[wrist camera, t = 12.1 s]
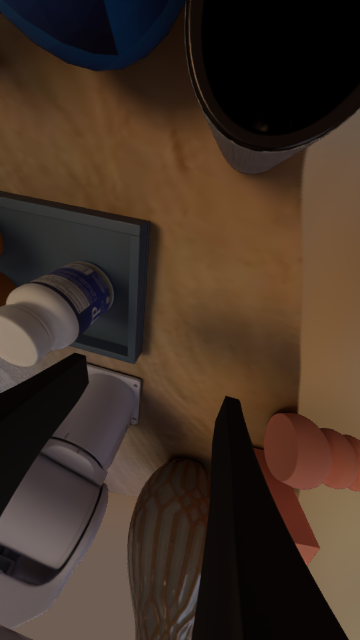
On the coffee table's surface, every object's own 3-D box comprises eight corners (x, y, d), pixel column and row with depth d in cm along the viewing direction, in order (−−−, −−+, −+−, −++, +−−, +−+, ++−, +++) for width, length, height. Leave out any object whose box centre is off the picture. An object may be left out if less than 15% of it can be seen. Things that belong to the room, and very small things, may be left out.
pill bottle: (97, 320, 23) (28, 385, 15) (55, 283, 21) (-42, 334, 14) (126, 291, 20) (60, 352, 12) (81, 247, 19) (-22, 286, 11)
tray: (142, 351, 24) (134, 364, 22) (-17, 308, 27) (-35, 316, 25) (150, 221, 17) (140, 225, 15) (-71, 176, 19) (-102, 175, 17)
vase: (135, 452, 36) (66, 629, 22) (199, 439, 30) (162, 674, 16) (181, 492, 40) (149, 665, 26) (246, 488, 34) (252, 712, 19)
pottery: (223, 494, 30) (288, 508, 31) (239, 596, 21) (331, 613, 22) (272, 388, 25) (350, 407, 26) (321, 464, 16) (439, 491, 17)
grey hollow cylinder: (203, 138, 14) (143, 52, 5) (262, 46, 11) (342, -426, 3) (254, 191, 14) (278, 196, 6) (319, 116, 12) (527, -67, 3)
